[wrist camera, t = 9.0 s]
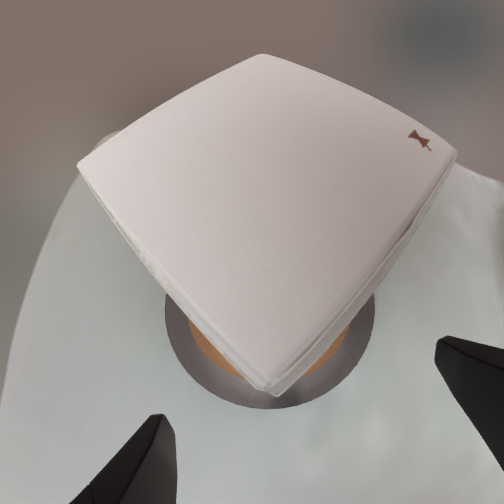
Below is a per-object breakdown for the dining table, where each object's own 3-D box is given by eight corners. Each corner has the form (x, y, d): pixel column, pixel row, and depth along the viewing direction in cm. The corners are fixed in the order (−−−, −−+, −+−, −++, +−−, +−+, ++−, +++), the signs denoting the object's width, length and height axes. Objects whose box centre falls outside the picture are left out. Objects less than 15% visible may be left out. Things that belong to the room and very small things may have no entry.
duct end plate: (378, 247, 21) (386, 232, 19) (340, 429, 15) (348, 432, 14) (213, 209, 24) (208, 192, 22) (146, 368, 18) (133, 363, 16)
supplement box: (273, 234, 20) (265, 46, 9) (362, 309, 17) (470, 149, 6) (186, 311, 18) (68, 159, 7) (274, 402, 15) (271, 404, 4)
